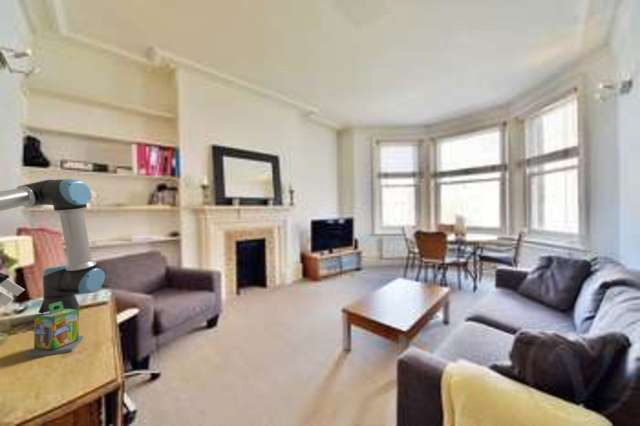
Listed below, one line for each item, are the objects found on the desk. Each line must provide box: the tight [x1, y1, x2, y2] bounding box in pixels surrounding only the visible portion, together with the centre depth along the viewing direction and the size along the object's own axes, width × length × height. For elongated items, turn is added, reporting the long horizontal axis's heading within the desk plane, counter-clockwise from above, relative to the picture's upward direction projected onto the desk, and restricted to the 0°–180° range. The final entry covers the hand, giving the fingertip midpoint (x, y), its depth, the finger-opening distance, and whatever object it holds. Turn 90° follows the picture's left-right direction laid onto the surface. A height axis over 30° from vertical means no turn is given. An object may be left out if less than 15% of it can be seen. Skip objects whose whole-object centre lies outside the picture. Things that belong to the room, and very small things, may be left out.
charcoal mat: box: [26, 335, 84, 359], centre depth 108 cm, size 12×12×1 cm
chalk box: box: [33, 301, 80, 350], centre depth 108 cm, size 9×9×15 cm
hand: (15, 297), depth 102 cm, fingers open, 13 cm apart
